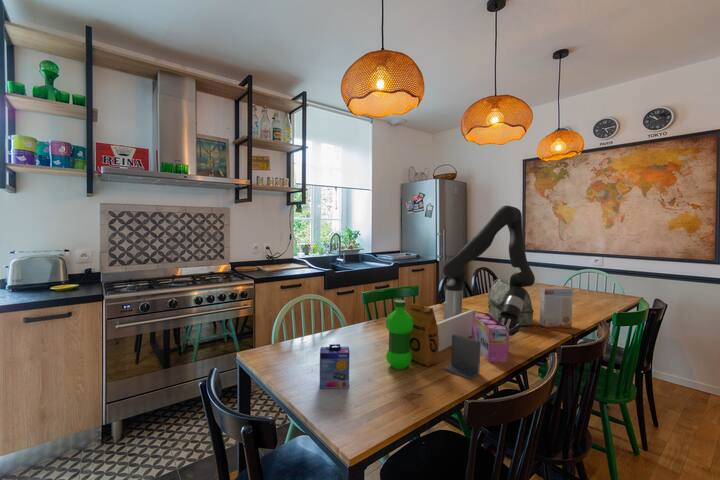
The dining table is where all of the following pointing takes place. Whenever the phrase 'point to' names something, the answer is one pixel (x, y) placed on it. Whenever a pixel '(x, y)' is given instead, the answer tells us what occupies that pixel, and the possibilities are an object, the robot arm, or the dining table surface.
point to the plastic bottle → (399, 336)
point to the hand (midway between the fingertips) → (500, 342)
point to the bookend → (464, 357)
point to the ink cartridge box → (334, 367)
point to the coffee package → (424, 335)
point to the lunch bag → (498, 299)
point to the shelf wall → (454, 328)
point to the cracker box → (556, 307)
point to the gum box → (491, 337)
